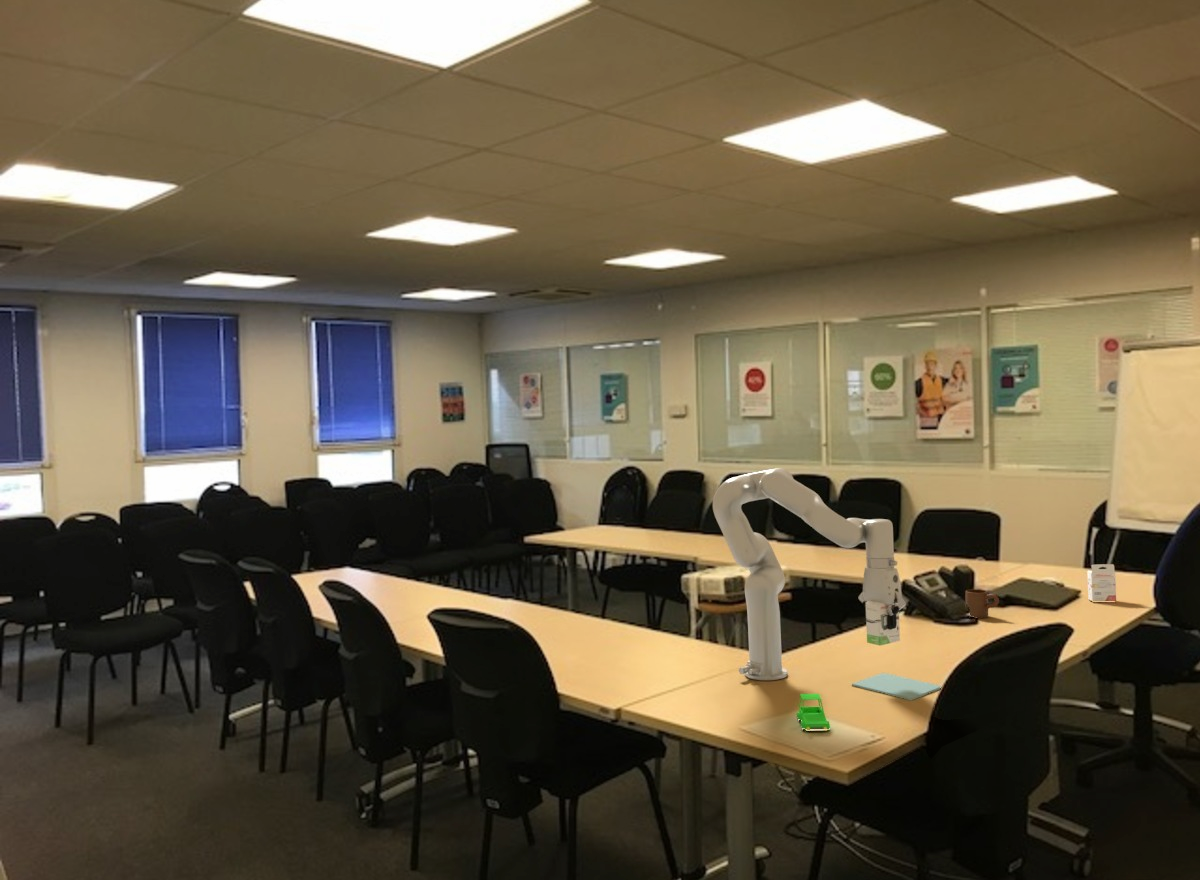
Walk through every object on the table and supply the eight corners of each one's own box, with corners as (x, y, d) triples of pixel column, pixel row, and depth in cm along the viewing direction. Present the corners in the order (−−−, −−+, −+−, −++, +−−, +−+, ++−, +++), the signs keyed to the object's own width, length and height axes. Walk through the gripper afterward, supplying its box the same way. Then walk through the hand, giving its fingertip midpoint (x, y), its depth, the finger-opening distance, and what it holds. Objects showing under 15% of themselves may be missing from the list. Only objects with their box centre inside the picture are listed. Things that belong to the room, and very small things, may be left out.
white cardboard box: (879, 646, 257) (878, 604, 256) (866, 642, 261) (864, 601, 261) (900, 641, 261) (899, 599, 261) (887, 637, 265) (885, 597, 265)
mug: (1004, 618, 333) (1003, 592, 333) (993, 621, 328) (993, 595, 328) (972, 613, 342) (971, 588, 342) (962, 617, 338) (961, 591, 337)
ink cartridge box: (1111, 600, 354) (1110, 562, 354) (1116, 603, 349) (1115, 564, 349) (1087, 600, 356) (1086, 562, 355) (1092, 603, 351) (1091, 564, 350)
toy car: (796, 718, 236) (795, 693, 236) (823, 718, 236) (822, 692, 236) (803, 734, 225) (801, 707, 225) (831, 733, 225) (830, 706, 224)
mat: (911, 700, 246) (911, 698, 246) (851, 685, 261) (851, 683, 261) (942, 688, 255) (942, 686, 255) (883, 674, 270) (883, 672, 270)
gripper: (914, 564, 256) (917, 629, 256) (862, 558, 269) (865, 620, 270) (898, 568, 251) (901, 634, 252) (846, 562, 265) (849, 624, 265)
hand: (882, 626), depth 261 cm, fingers closed on white cardboard box, 5 cm apart
